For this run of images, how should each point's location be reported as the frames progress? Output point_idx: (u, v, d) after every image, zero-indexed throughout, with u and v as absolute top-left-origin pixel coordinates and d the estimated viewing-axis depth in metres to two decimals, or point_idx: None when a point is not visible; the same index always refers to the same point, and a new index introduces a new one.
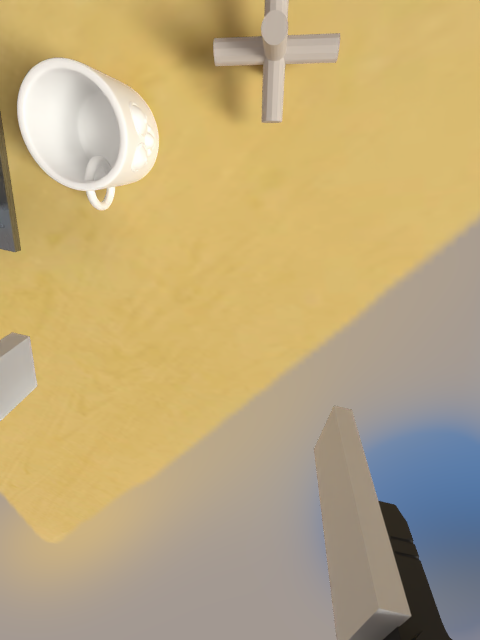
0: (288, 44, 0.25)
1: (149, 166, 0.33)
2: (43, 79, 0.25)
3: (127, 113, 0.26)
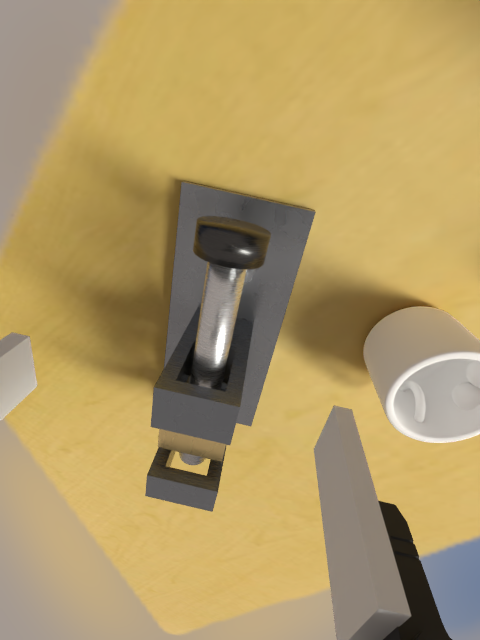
0: None
1: None
2: None
3: None
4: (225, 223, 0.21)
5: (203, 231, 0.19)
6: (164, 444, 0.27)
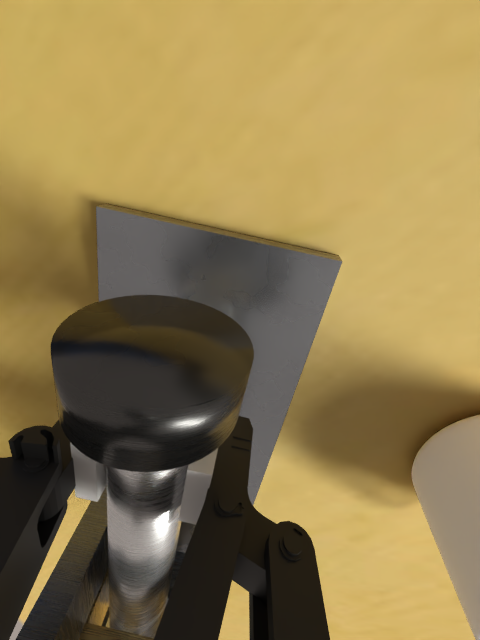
0: None
1: None
2: None
3: None
4: (141, 325, 0.08)
5: (57, 377, 0.07)
6: None
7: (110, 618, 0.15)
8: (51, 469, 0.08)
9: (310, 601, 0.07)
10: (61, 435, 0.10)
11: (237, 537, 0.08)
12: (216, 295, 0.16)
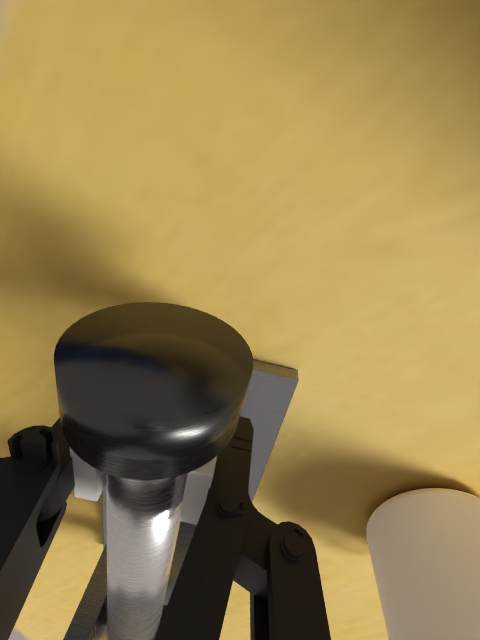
0: None
1: None
2: None
3: None
4: (143, 334, 0.09)
5: (60, 387, 0.07)
6: None
7: (108, 618, 0.15)
8: (50, 469, 0.08)
9: (311, 601, 0.07)
10: (60, 435, 0.10)
11: (238, 537, 0.08)
12: None
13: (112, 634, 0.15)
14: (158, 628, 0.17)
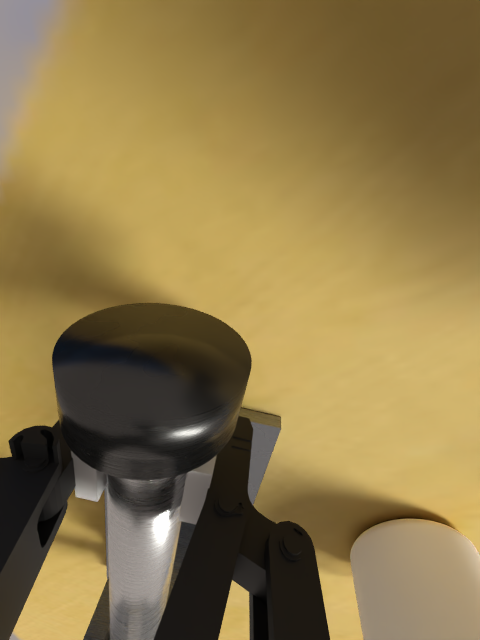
0: None
1: None
2: None
3: None
4: (141, 335, 0.09)
5: (58, 388, 0.07)
6: None
7: (110, 620, 0.15)
8: (51, 469, 0.08)
9: (310, 601, 0.07)
10: (61, 435, 0.10)
11: (237, 537, 0.08)
12: None
13: (115, 636, 0.15)
14: None
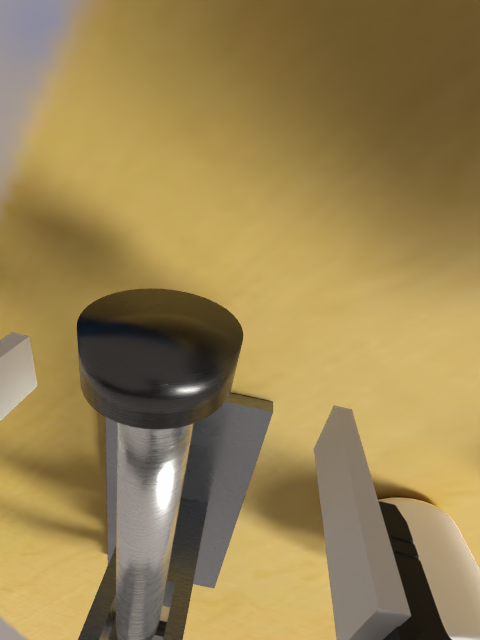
0: None
1: None
2: None
3: None
4: (149, 313, 0.10)
5: (83, 352, 0.08)
6: None
7: (117, 584, 0.17)
8: None
9: None
10: None
11: None
12: None
13: (121, 599, 0.17)
14: (163, 597, 0.19)
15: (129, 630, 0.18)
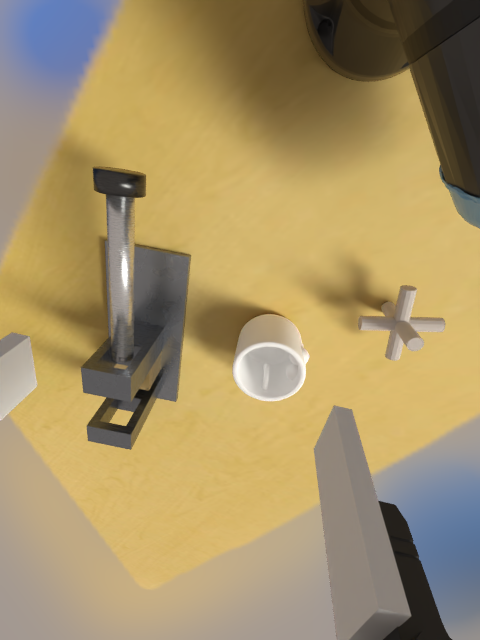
0: (411, 326, 0.39)
1: None
2: None
3: (304, 363, 0.41)
4: (115, 170, 0.32)
5: (94, 172, 0.30)
6: None
7: (110, 313, 0.38)
8: None
9: None
10: None
11: None
12: (149, 271, 0.45)
13: (112, 320, 0.38)
14: (132, 332, 0.40)
15: (117, 344, 0.40)
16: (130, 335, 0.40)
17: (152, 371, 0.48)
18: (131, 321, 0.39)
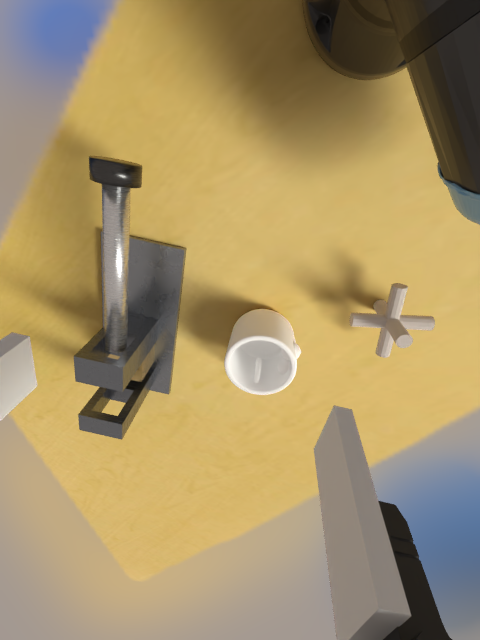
0: (401, 324, 0.40)
1: None
2: None
3: (296, 357, 0.41)
4: (111, 160, 0.32)
5: (90, 161, 0.30)
6: None
7: (104, 302, 0.38)
8: None
9: None
10: None
11: None
12: (144, 262, 0.45)
13: (106, 310, 0.38)
14: (126, 322, 0.40)
15: (110, 334, 0.40)
16: (123, 325, 0.40)
17: (145, 363, 0.48)
18: (125, 312, 0.39)
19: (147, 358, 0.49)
